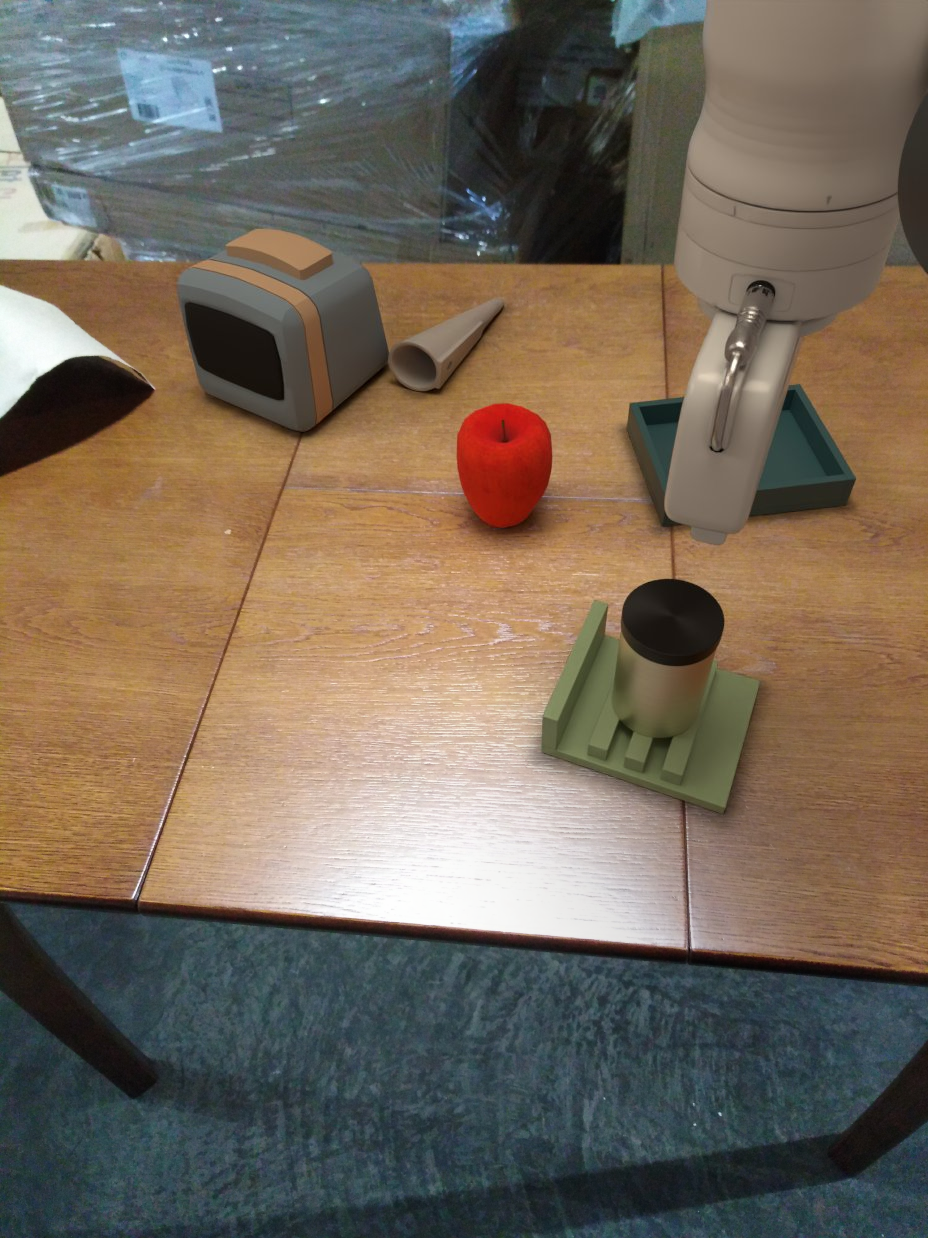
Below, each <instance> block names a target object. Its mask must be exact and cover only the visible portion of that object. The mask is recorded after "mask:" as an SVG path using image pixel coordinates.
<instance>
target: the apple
mask: <svg viewBox="0 0 928 1238" xmlns="http://www.w3.org/2000/svg"><path fill="white" fill-rule="evenodd" d="M461 423H462V424H461V426H460V428H459V430H458V433H457V434H456V466H457V468H456V469H457V472H458V473H457V474H458V477H459V482H460V487H461V489H462V492H463V495H464V497H465V498H466V500H467V502H468V503H469V505H470V507H471V509H472V510H473V511H474V513H475V514H476V515H477V516H478V517H479V519H480V520H481V521H482V522H484V523H485V524H487V525H488V526H490V527H492V528H493V527H494V528H500V529H501V528H502V529H505V528H509V527H515V526H517V525H519V524H520V523H522V522H523V521H524V520H526V519H527V518H528V517H529V515H531V513H532V511H533V510H534V509H535V508H536V506H537V504H538V503H539V502H540V500H541V499H542V498H543V496H544V495H545V493H546V490H547V488H548V487H549V484H550V479H551V474H552V469H553V445H552V442H553V441H552V434H551V430H550V429H549V427H548V424H547V422H546V421H545V420H544V419H543V418H542V417H541V416H540V415H539V414H538V413H536V412H534V411H531V410H530V409H528V408H526V407H524V406H522V405H517V404H513V403H509V402H502V403H492V404H489V405H487V406H483V407H482V408H478V409H476V410H474V411H473V412H471V413H470V414H469V415H467V416H466V417H465V418H464V419H463V421H462V422H461Z"/></svg>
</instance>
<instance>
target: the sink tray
mask: <svg viewBox="0 0 928 1238" xmlns="http://www.w3.org/2000/svg"><path fill="white" fill-rule="evenodd" d="M683 400H684V396H679V397H671V398H660V399H652V400H643V401H635V402H629V406H628V413H627V414H628V415H627V423H626V431H627V434H628V436H629V439H630V442H631V445H632V447H633V450H634V453H635V455H636V459H637V461H638V464H639V467H640V469H641V472H642V475H643V478H644V480H645V482H646V486H647V488H648V491H649V493H650V496H651V499H652V502H653V504H654V507H655V510H656V513H657V515H658V518H659V521H660V524H661V527H670V526H677V525H678V526H679V525H682V524H681V523H677V522H675V521H672V520H671V519H669V517H668V516H667V514H666V512H665V508H664V501H665V493H666V487H667V482H668V476H669V470H670V465H671V459H672V454H673V448H674V443H675V438H676V433H677V428H678V423H679V418H680V413H681V408H682V404H683ZM856 480H857V476H856V475H855V474H854V472H853V470H852V469H851V467H850V465H849V464H848V462H847V461H846V458H845V457H844V455H843V454H842V452H841V450H840V449H839V447H838V445H837V444H836V442H835V440H834V438H833V437H832V435H831V434H830V432H829V431H828V429H827V427H826V425H825V424H824V422H823V420H822V419H821V416H820V415H819V413H818V412H817V410H816V408H815V407H814V405H813V404H812V402H811V400H810V398H809V396H808V395H807V393H806V391H805V390H804V388H803V386H802V385H801V383H797V384H789V387H788V390H787V394H786V397H785V400H784V403H783V407H782V410H781V413H780V416H779V420H778V423H777V426H776V429H775V433H774V436H773V439H772V442H771V446H770V449H769V452H768V455H767V459H766V462H765V465H764V468H763V472H762V475H761V478H760V481H759V485H758V488H757V491H756V494H755V498H754V501H753V504H752V507H751V511H750V514H749V517H755V516H756V517H757V516H764V515H773V514H782V513H783V514H784V513H790V512H799V511H807V510H808V511H809V510H816V509H823V508H834V507H841V506H847V504H848V502H849V499H850V497H851V494H852V492H853V490H854V486H855V484H856Z"/></svg>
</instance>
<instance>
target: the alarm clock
mask: <svg viewBox="0 0 928 1238" xmlns="http://www.w3.org/2000/svg"><path fill="white" fill-rule="evenodd" d="M176 286H177V287H176V295H177V299H178V304H179V309H180V313H181V317H182V322H183V326H184V330H185V334H186V338H187V343H188V347H189V351H190V354H191V358H192V362H193V365H194V369H195V374H196V377H197V380H198V383H199V385H200V386H201V389H202V390H203V391H204V392H205V393H207V394H208V395H210V396H212V397H215V398H217V399H219V400H222V401H224V402H227V403H228V404H231V405H233V406H236V407H239V408H240V409H243V410H245V411H247V412H249V413H250V412H251V413H253V414H255V415H256V416H260V417H262V418H264V419H267V420H269V421H271V422H274V423H276V424H278V425H281V426H283V427H285V428H288V429H290V430H293V431H295V432H303V433H305V432H307V431H309V430H311V429H313V428H314V427H315V426H317V424H318V423H320V422H322V420H323V419H324V418H326V417H327V416H328V415H329V414H330V413H331V412H333V411H334V410H335V409H336V408H338V406H340V405H341V404H342V403H343V402H345V400H346V399H347V398H349V397H350V396H352V394H354V393H355V392H356V391H357V390H358V389H359V388H360V387H361V386H363V385H364V384H365V383H366V382H368V381H369V380H370V379H371V378H372V377H373V376H375V375H376V374H377V373H378V372H379V371H380V370H381V369H382V368H384V367H385V366H386V365H387V363H388V355H389V352H390V349H389V346H388V341H387V337H386V333H385V328H384V324H383V320H382V315H381V311H380V307H379V301H378V297H377V294H376V290H375V284H374V281H373V277H372V275H371V273H370V271H369V269H368V268H366V266H364V265H363V264H362V263H360V262H358V261H357V260H355V259H352V258H351V257H347V256H346V255H344V254H342V253H339V252H337V251H334V250H332V249H329V248H327V247H325V246H323V245H321V244H319V243H318V242H315V241H313V240H311V239H309V238H307V237H304V236H301V235H299V234H296V233H294V232H289V231H286V230H285V231H284V230H280V229H273V228H272V229H271V228H254V229H253V230H250V231H249V232H247V233H244V234H243V235H241V236H239V237H238V238H235V239H233V240H231V241H230V242H228V243H226V244H225V250H223V251H221V252H218V253H216V254H214V255H212V256H211V257H208V258H206V259H204V260H202V261H199V262H198V263H196V264H194V265H192V266H190V267H188V268H186V269H184V271H183V272H182V273H181V274H180V276H179V277H178V278H177V285H176Z"/></svg>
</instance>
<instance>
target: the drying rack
mask: <svg viewBox="0 0 928 1238" xmlns="http://www.w3.org/2000/svg"><path fill="white" fill-rule="evenodd" d="M608 611H609V603H607V602H604V601H600V600H597V599H594V600H593V602H592V604H591V607H590V609H589V611H588V613H587V615H586V617H585V619H584V622H583V624H582V626H581V628H580V630H579V634H578V635H577V638H576V640H575V642H574V644H573V646H572V649H571V652H570V654H569V656H568V658H567V660H566V662H565V664H564V667H563V669H562V670H561V673H560V676H559V678H558V680H557V682H556V685H555V687H554V689H553V692H552V694H551V696H550V697H549V700H548V703H547V705H546V707H545V710H544V712H543V714H542V720H541V722H542V723H541V726H542V727H541V745H540V747H541V753H543V754H546V755H549V756H551V757H555V758H558V759H561V760H564V761H566V762H569V763H573V764H575V765H578V766H581V767H585V768H587V769H589V770H593V771H596V772H598V773H602V774H604V775H608V776H611V777H614V778H616V779H619V780H622V781H624V782H625V781H626V782H628V783H630V784H634V785H636V786H640V787H643V788H646V789H648V790H652V791H655V792H658V793H660V794H664V795H666V796H669V797H672V798H675V799H677V800H680V801H684V802H687V803H690V804H692V805H696V806H699V807H701V808H703V809H707V810H710V811H713V812H715V813H718V814H724V813H725V810H726V807H727V805H728V801H729V797H730V795H731V794H730V793H731V790H732V786H733V782H734V779H735V775H736V771H737V768H738V765H739V761H740V757H741V753H742V751H743V746H744V743H745V738H746V735H747V733H748V728H749V723H750V722H751V717H752V713H753V710H754V706H755V703H756V700H757V695H758V691H759V688H760V684H761V680H759V679H756V678H752V677H748V676H745V675H743V674H739V673H735V672H731V671H728V670H725V669H721V668H718V666H719V662H720V661H718V660H716V659H714V660H713V664H712V667H711V671H710V674H709V678H708V682H707V685H706V689H705V693H704V696H703V700H702V703H701V707H700V711H699V714H698V717H697V719H696V721H695V722H694V723H693V725H692V726H691V727H690V728H688V729H687V730H686V731H684V732H683V733H681V734H678V735H676V736H672V737H667V738H653V737H648V736H644V735H641V734H639V733H636V732H635V731H633V730H631V729H630V728H628V727H627V726H626V725H625V724H623V723H622V721H621V720H620V719H619V718H618V716H617V715H616V713H615V711H614V708H613V704H612V692H613V684H614V677H615V670H616V663H617V655H618V648H619V641H620V638H616V637H613V636H610V635H607V634H606V630H607V629H606V628H607V620H608V613H609V612H608Z"/></svg>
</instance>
